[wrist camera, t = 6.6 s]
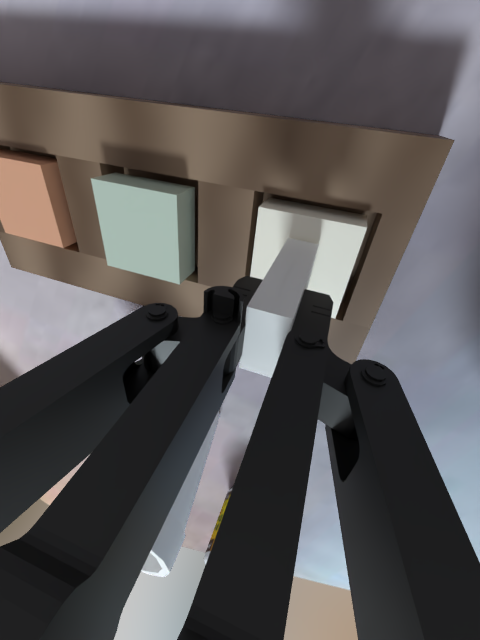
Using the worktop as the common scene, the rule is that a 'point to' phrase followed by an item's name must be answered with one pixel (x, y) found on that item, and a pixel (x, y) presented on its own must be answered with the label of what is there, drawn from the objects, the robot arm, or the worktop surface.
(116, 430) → the robot arm
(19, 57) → the worktop surface
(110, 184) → the sage tile
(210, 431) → the foam cup
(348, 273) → the cream tile
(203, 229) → the walnut board
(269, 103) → the worktop surface
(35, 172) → the terracotta tile
